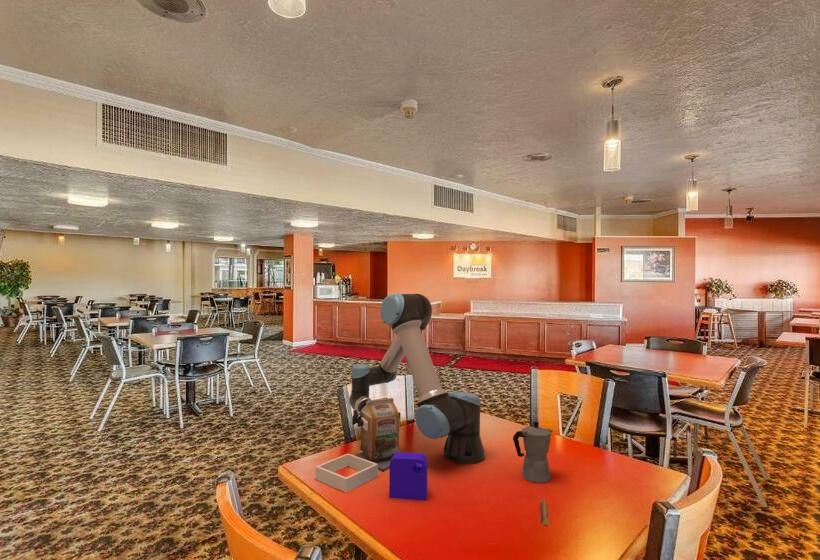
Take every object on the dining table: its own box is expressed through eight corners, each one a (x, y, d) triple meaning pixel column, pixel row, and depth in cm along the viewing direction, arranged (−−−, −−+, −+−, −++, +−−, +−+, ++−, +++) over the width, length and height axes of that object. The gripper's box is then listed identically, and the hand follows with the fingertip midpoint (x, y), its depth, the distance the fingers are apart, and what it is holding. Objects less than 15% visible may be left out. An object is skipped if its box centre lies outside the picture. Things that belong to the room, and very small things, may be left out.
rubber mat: (409, 458, 152) (409, 456, 152) (383, 471, 141) (383, 469, 141) (376, 448, 162) (376, 446, 162) (350, 459, 151) (350, 457, 151)
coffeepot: (543, 468, 145) (543, 416, 145) (562, 480, 136) (562, 424, 137) (505, 474, 140) (505, 420, 140) (522, 487, 131) (522, 429, 131)
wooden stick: (548, 505, 121) (548, 497, 121) (550, 528, 109) (550, 519, 109) (538, 504, 122) (538, 496, 122) (540, 526, 110) (540, 518, 110)
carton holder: (377, 476, 138) (378, 464, 138) (345, 492, 126) (346, 479, 126) (347, 465, 146) (347, 453, 146) (315, 479, 135) (315, 466, 135)
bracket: (426, 501, 122) (426, 460, 122) (389, 498, 123) (389, 457, 124) (430, 474, 140) (430, 438, 140) (398, 472, 141) (398, 436, 142)
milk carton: (371, 460, 145) (372, 404, 145) (360, 449, 154) (361, 397, 154) (399, 454, 150) (399, 401, 150) (386, 445, 159) (387, 394, 159)
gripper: (394, 414, 173) (414, 431, 153) (337, 420, 164) (350, 439, 144) (394, 396, 173) (414, 410, 153) (337, 401, 164) (350, 417, 144)
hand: (383, 424), depth 148 cm, fingers closed on milk carton, 11 cm apart
